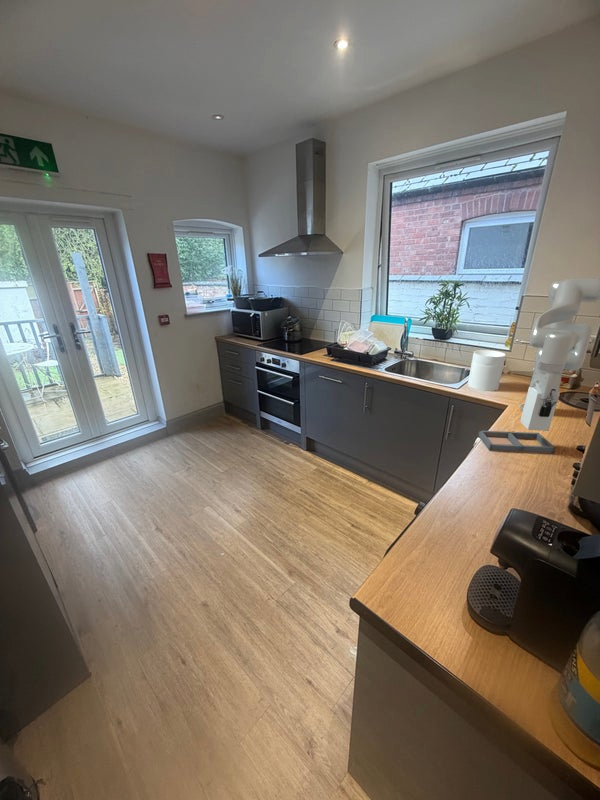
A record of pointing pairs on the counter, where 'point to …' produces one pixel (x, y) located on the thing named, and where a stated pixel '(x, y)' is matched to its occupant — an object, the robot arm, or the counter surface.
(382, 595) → the counter surface
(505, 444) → the frame
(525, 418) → the milk carton
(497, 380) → the canister
